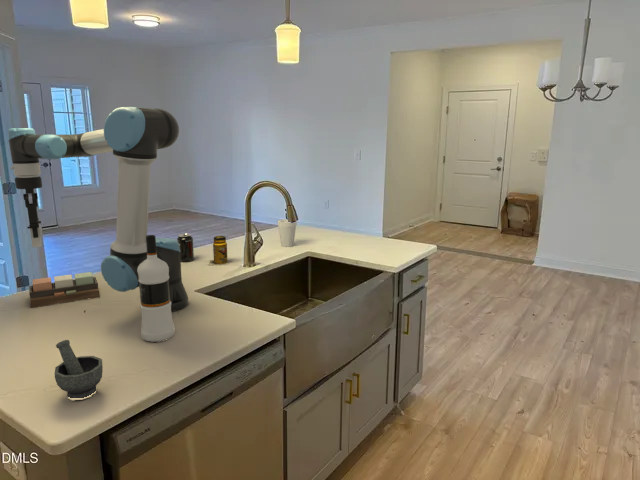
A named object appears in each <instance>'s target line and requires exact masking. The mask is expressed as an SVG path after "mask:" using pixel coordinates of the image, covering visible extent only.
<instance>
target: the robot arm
mask: <svg viewBox="0 0 640 480" xmlns="http://www.w3.org/2000/svg"><path fill="white" fill-rule="evenodd" d="M7 131H8V133H7V134H8V143H9V144H8V145H9V150H10V156H11V157H10V158H11V161H12V166H10V169H11V170H13V175H14V176H15V177H14V185H15V188H16V189H17V190H25V193H23V195H22V197H23V200H24V205H25V208H27V215H28V223H29V225H28V226H27V229H28V230H29V232H30V240H31V247H32V248H41V247H43V243H42V234H41V228H40V227H41V226H40V224H42V220H39V219H40V218H39V216H38V209H37V208H38V207H39V205H38V204H39V203H38V198H39V196H38V192H35V190H36V189H40V188H42V187H43V181H42V177H41V174H42V173H41V164H40V159H41V160H43V159H45V160H49V161H50V160H59V159H65V158H66V159H68V158H88V157H94V156H96V155H98V154H105V153H111V152H112V155H113V156H114V158H116V159H117V160H118V168H117V200H116V201H117V202H116V204H117V205H116V207H117V208H116V233H115V234H116V235H115V236H116V238H115V240H114V241H113V242H112V243H111V244H110V250H109V251H110V252H109V255H107V256H106V257H104V258H103V259H102V261H101V262H100V271H101V275H102V278H103V279H104V281H105V282H106V284H107V285H108V286H109V287H110V288H111V289H113V290H115V291H117V292H121V293H125V292H129V291H132V290H136V289H137V288H139V281H138V280H139V279H138V272H137V268H138V266H139V265H140V264H141V263H142V262H143V261H145V260H146V259H147V247H146V236H147V235H148V227H149V206H150V204H149V203H150V186H151V185H150V184H151V168H152V167H151V166H152V163H153V162H154V161H156V160H157V159H158V157H157V155H158V150H161V149H166V148H169V147H171V146H173V145H174V144H175V143H176V141H177V140H178V139H179V138H178V137H179V133H180V126H179V123H178V121H177V119H176V118H175V116H174V115H173V114H172V113H170V112H169V111H167V110H165V109H161V108H149V107H138V106H137V107H135V106H123V107H117V108H115V109H113V110H112V111H111V112H110V113H109V114H108V115H107V117H106V119H105V121H104V125H103V128H102V129H97V130H92V131H88V132H82V133H75V134H73V133H72V134H53V133H52V134H36V130H35V129H34V128H32V127H26V128H25V127H24V128H23V127H21V128H20V127H17V128H16V127H12V128H9V129H8V130H7ZM156 250H157V258H159V259H161V260H162V261H164V262H166V263H167V265H168V267H169V291H170V301H171V313H173V312H176V311H179V310H182V309H185V308H186V307H187V306H188V305H189V303H190V301H189V296H188V293H187V290H186V288H185V286H184V284H183V280H182V279H183V278H182V264H181V263H182V261H181V259H180V248H179V243H178V241H177V239H174V238H166V237H156Z"/></svg>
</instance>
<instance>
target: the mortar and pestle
mask: <svg viewBox="0 0 640 480" xmlns="http://www.w3.org/2000/svg"><path fill="white" fill-rule="evenodd" d="M70 343H71V342H70V340H69V339H64V340H61V341H60V342H59V341H58V343H56V344H55V348H57V349H58V350H59V352H60V356H61V359H62V362H61V363H59V364H58V365H57V366H55V367H54V369H55V370H54V380H55V383H56V385H57V387H59V389H60V390H62V391H64V392H66V397H67V396H68V397H70V398H84V397H87V396H89V395H91V394H92V393H94V392H95V391H96V387H97V385H99V383H100V382H101V380H102V378H103V372H104V371H103V359H102V358H100V357H98V356H95V355H84V356H81V355H80V356H76V354H75V352H74V349H73V348H72V346H71V345H70Z"/></svg>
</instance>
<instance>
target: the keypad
mask: <svg viewBox="0 0 640 480" xmlns="http://www.w3.org/2000/svg"><path fill="white" fill-rule="evenodd" d="M93 282H94V283H92V284H85V285H78V286H76V282H75V279H73V286H71V287H64V288H57V289H56V288H55V281H54V282H52V289H50V290H43V291H36V292H34V291H33V285H29V290H28V291H29V292H28V293H29V294H28V295H29V303H30V309H31V308H32V307H33V308H38V306H40V307H45V305H46V306H50V305H51V304H52V305H57V303H59V304H64V303H63V302H65V303H70V301H71V302H75V301H76V300H78V301H83V299H84V300H89V299H88V298H91V299H95V297H97V298H100V297H101V295H100V294H101V293H100V289H99V283H98V280H97V277H96V276H93ZM76 302H77V301H76ZM52 305H51V306H52Z"/></svg>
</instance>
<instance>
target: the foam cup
mask: <svg viewBox="0 0 640 480" xmlns="http://www.w3.org/2000/svg"><path fill="white" fill-rule="evenodd" d="M287 219H288V218H284V219H279V220H277V226H278V232H279V233H278V234H279V240H280V246H281V247H283V248H291V247H294V245H295V239H296V238H295V237H296V230H297V221H296V222H295V223H290V222H288V220H287Z"/></svg>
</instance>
